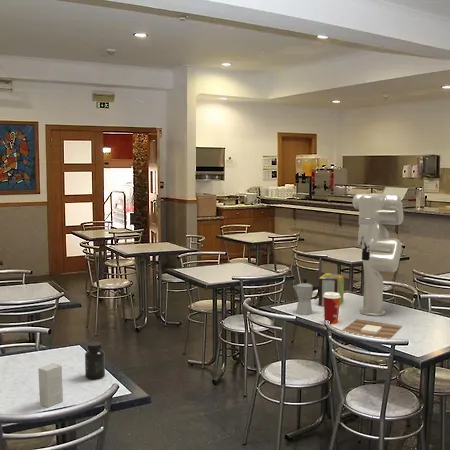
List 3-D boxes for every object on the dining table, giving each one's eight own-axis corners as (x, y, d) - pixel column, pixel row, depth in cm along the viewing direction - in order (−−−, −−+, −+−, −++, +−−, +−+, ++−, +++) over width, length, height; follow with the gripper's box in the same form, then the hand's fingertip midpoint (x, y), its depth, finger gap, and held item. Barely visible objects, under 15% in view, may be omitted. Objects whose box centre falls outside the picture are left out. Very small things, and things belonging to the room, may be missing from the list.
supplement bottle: (82, 375, 203) (81, 343, 201) (100, 371, 207) (99, 339, 205) (89, 381, 197) (89, 348, 196) (108, 377, 201) (107, 344, 200)
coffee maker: (291, 314, 286) (292, 279, 284) (291, 310, 295) (292, 276, 293) (321, 315, 284) (322, 280, 282) (320, 311, 293) (321, 277, 291)
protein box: (343, 301, 314) (344, 274, 312) (337, 308, 300) (338, 279, 298) (325, 299, 318) (325, 272, 316) (317, 306, 304) (318, 277, 302)
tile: (366, 324, 259) (360, 329, 252) (382, 326, 256) (376, 331, 248) (366, 327, 260) (360, 332, 252) (381, 330, 256) (376, 335, 248)
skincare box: (54, 398, 183) (53, 362, 182) (63, 401, 181) (62, 365, 179) (38, 404, 178) (37, 368, 177) (47, 408, 176) (46, 371, 174)
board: (356, 321, 274) (356, 319, 274) (402, 328, 263) (402, 326, 263) (340, 334, 254) (340, 331, 254) (389, 342, 242) (389, 339, 242)
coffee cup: (339, 327, 264) (340, 296, 263) (322, 326, 266) (322, 295, 264) (339, 322, 273) (340, 292, 271) (322, 321, 274) (323, 291, 273)
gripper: (363, 219, 273) (362, 257, 275) (354, 222, 261) (352, 261, 263) (379, 220, 270) (377, 258, 272) (370, 223, 257) (368, 263, 259)
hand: (365, 259), depth 267 cm, fingers closed
